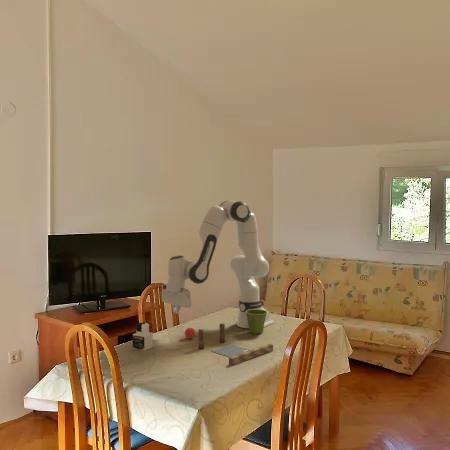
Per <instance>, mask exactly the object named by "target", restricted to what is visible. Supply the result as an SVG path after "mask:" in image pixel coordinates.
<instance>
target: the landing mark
mask: <svg viewBox="0 0 450 450" xmlns="http://www.w3.org/2000/svg"><path fill="white" fill-rule="evenodd" d="M242 350H243V351H242ZM244 350H248V351H250V350H251V349H249V348H246V347H241V346H238V345H235V344H230V345H227V346H224V347H221V348H218V349H217V348H216V349H214V350H211V352H212V353H215V354H218V355H221V356H224V357H228V358H229V357H232V356H235V355H238V354H241V353H244ZM246 352H247V351H246Z"/></svg>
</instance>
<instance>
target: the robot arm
mask: <svg viewBox="0 0 450 450" xmlns="http://www.w3.org/2000/svg"><path fill="white" fill-rule="evenodd" d="M227 221H230V222H236V225H237V238H238V239H237V243H238V248H240V250H242V252H243V254H244V255H242V254H241V255H236V256H233V257H232V258H231V260H230V265H229V266H230V269H231V271H232V272H233V273H234V275H235V278H236V280H237V282H238V288H239V289H238V290H239V300H238V307H239V308H238V313H237V320H236V326H237V327H240V328H242V329H243V328H244V329H249V326H248V319H247V315H246V313H245V311H247V310H251V309H260V310H265V311H267V314H266V318H265V323H264V328H266V327H267V326H270V325H272V324H274V323H275V321H274V320H273V319H271V318H270V317H271V316H270V313H269V311H268V310H267V309H265V308H264V307H263V304H265V300H264V299H260V286H259V284H258V283H257V282H256V280H255V279H254V278H263V277H266V276H267V275H268V273H269V272H270V264H269V262H268V260H267V259H266V258H265V257H264V255H263V253H262V251H261V249H260V243H259V233H258V232H259V230H258V228H259V227H258V222H257V216H256V215H255V213H253V212H251V211H250V208H249V206H248V204H247V203H246V202H244V201H242V200H241V201H240V200H235V199H234V200H226V201H222V203H220V204H219V205H212V206H211V207H210V208H209V209H208V211H207V212H206V214H205V216H204V218H203V220H202V222H201V224H200V228H199V230H198V231H199V232H198V235H199V237H200V239H201V242H202V247H201V250H200V254H199V257H198V258H197V261H194V260H191V259H188V258H186V257H185V256H184V255H173V256H171V257H170V258H169V260H168V267H167V269H168V270H167V274H168V279H167V283H164V284H162V285H161V289H162V290H161V301H162V302H163V303H165V304H169V305H171V307H172V310H173V314H180V310H181V308H185V309H186V308H190V307H192V296H191V295H192V294H191V292H190V290H189V288H186V280H190V281H191V282H193V283H194V284H197V285H198V284H200V285H201V284H203V283H204V282H205V281H207V279H208V277H209V274H210V272H209V271H210V264H211V261H212V259H213V256H214V253H215V250H216V246H217V244H218V243H217V242H218V240H219V237H220V235H221V231H222V230H223V227H224V225H225V223H226V222H227Z"/></svg>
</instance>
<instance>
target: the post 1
mask: <svg viewBox="0 0 450 450" xmlns="http://www.w3.org/2000/svg"><path fill="white" fill-rule="evenodd" d="M204 349H205V329H202V328H201V329H198V350H204Z"/></svg>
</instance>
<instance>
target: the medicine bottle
mask: <svg viewBox="0 0 450 450" xmlns="http://www.w3.org/2000/svg"><path fill="white" fill-rule="evenodd" d="M135 326H136V327H135V331H136V332H135V333H133V334H132V349H133V350H139V351H143V352H145V351H147V350H149V349H151V348H153V347H154V332H150V324H149V323H147V322H138V323H136V325H135Z"/></svg>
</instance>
